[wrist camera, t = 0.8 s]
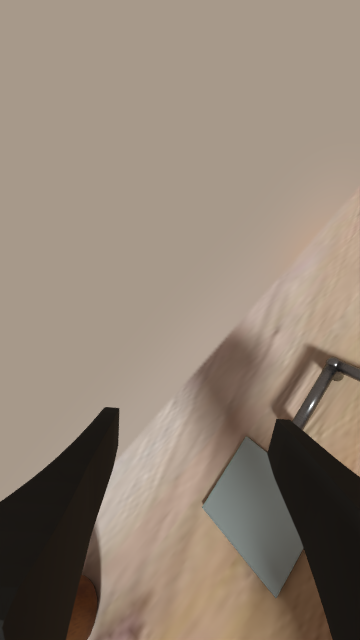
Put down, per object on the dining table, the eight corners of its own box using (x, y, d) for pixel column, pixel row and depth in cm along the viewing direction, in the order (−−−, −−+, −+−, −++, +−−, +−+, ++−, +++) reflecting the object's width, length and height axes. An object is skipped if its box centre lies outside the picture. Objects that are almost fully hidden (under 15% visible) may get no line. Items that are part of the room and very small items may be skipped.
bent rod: (428, 409, 20) (438, 397, 17) (380, 502, 19) (384, 504, 16) (332, 367, 25) (329, 352, 22) (290, 438, 24) (282, 432, 21)
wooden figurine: (113, 575, 26) (-59, 633, 15) (99, 663, 23) (-128, 812, 12) (70, 560, 29) (-96, 598, 18) (53, 635, 26) (-158, 733, 15)
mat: (328, 502, 20) (328, 502, 20) (277, 596, 19) (275, 598, 19) (247, 436, 26) (246, 436, 25) (203, 507, 25) (201, 507, 24)
